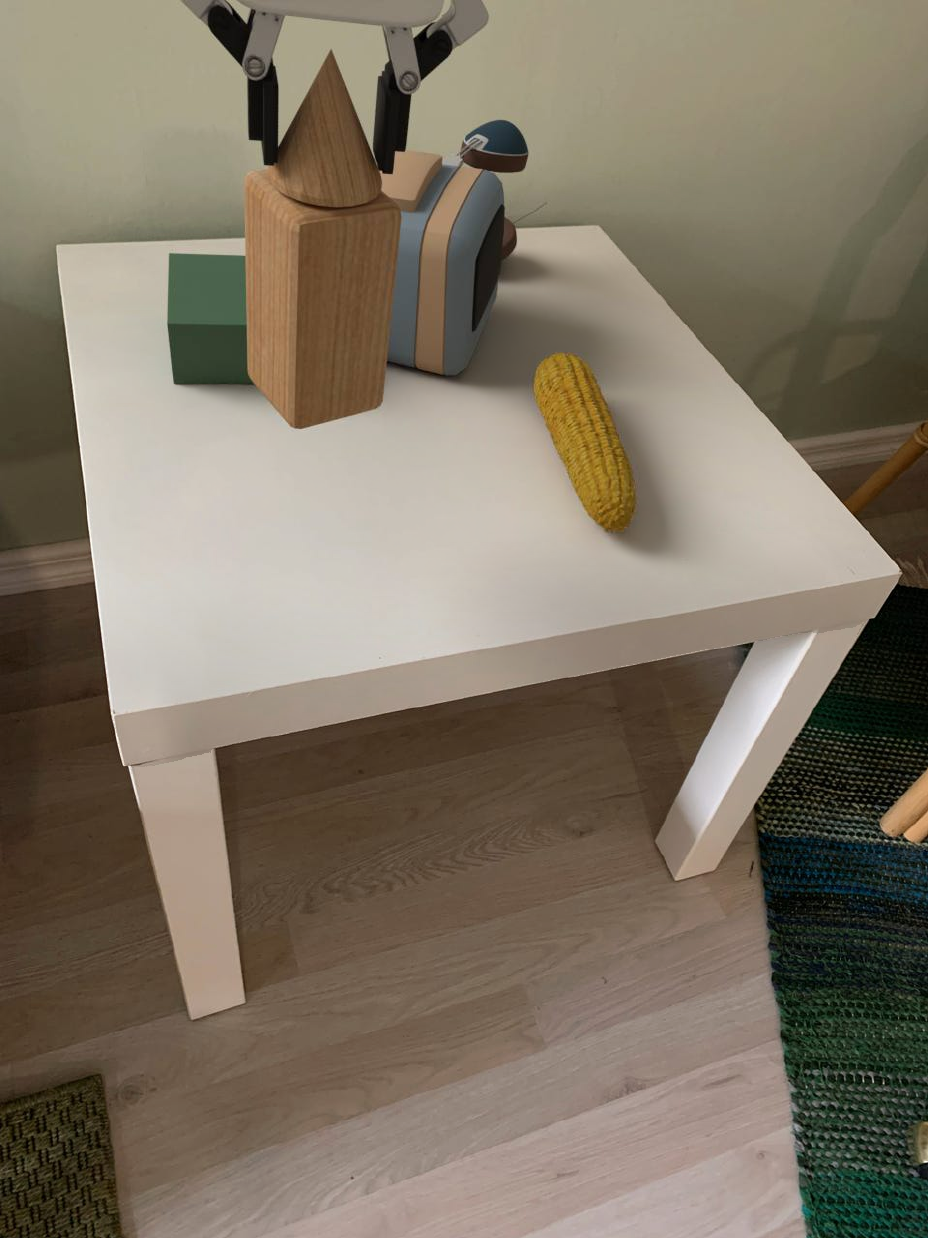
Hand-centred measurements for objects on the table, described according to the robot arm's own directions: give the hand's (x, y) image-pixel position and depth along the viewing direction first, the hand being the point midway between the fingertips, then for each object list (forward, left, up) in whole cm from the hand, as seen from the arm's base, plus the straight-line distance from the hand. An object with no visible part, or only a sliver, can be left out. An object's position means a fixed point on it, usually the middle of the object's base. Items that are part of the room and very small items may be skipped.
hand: (326, 155), depth 50 cm
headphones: (+22, +46, -30) cm, 60 cm away
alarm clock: (+12, +33, -30) cm, 46 cm away
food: (+24, +11, -30) cm, 41 cm away
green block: (-5, +29, -30) cm, 42 cm away
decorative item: (0, 0, -15) cm, 15 cm away
